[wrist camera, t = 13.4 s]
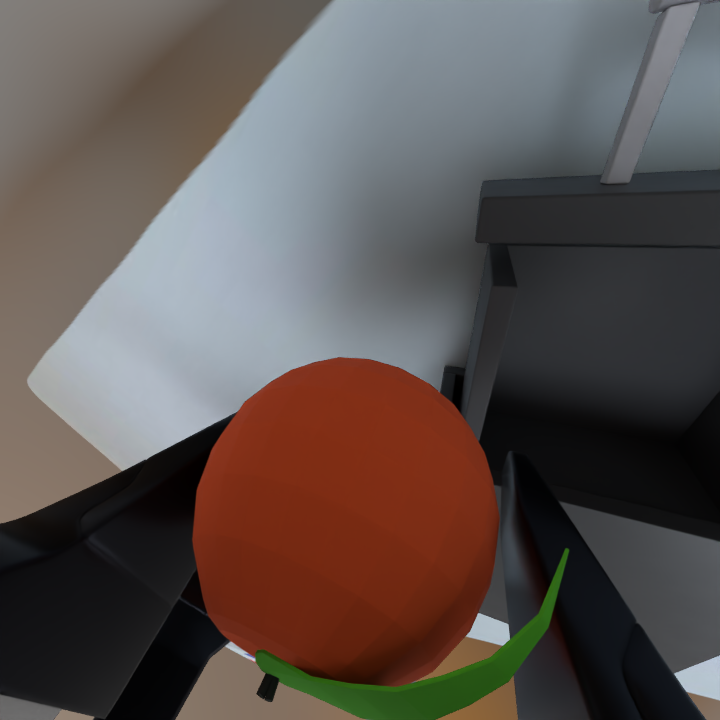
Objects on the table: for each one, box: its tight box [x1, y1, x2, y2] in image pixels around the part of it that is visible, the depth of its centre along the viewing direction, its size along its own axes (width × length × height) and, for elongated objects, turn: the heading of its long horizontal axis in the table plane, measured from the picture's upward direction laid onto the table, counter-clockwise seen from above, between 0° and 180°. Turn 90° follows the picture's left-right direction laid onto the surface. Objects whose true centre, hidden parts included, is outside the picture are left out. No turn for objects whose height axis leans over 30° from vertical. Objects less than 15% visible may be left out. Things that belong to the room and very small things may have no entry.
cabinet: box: [440, 366, 720, 673], centre depth 19 cm, size 15×15×9 cm
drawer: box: [458, 0, 720, 524], centre depth 11 cm, size 18×13×7 cm
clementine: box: [192, 357, 569, 720], centre depth 7 cm, size 8×7×7 cm
